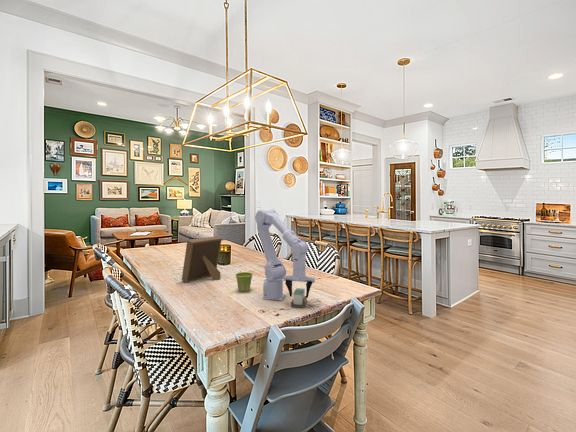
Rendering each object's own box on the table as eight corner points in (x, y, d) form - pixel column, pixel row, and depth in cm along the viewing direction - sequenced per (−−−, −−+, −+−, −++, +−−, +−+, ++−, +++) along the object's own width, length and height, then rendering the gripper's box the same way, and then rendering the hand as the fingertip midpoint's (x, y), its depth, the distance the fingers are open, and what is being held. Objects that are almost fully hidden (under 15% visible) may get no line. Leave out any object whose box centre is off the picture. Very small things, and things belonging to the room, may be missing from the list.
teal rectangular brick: (293, 304, 136) (293, 293, 135) (296, 298, 144) (296, 288, 143) (301, 304, 135) (302, 294, 135) (304, 298, 143) (304, 288, 142)
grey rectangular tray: (291, 307, 135) (291, 302, 135) (295, 299, 146) (295, 294, 146) (303, 308, 134) (303, 303, 134) (306, 300, 144) (306, 295, 144)
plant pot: (256, 290, 159) (256, 274, 159) (242, 294, 152) (242, 277, 152) (245, 286, 166) (245, 271, 165) (231, 290, 159) (231, 274, 158)
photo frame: (181, 281, 174) (181, 239, 173) (211, 273, 192) (211, 235, 190) (197, 286, 166) (197, 241, 164) (227, 278, 183) (227, 237, 182)
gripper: (282, 268, 135) (281, 298, 136) (313, 270, 132) (313, 300, 133) (285, 265, 142) (285, 293, 143) (315, 267, 139) (315, 295, 140)
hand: (299, 296), depth 139 cm, fingers open, 7 cm apart
